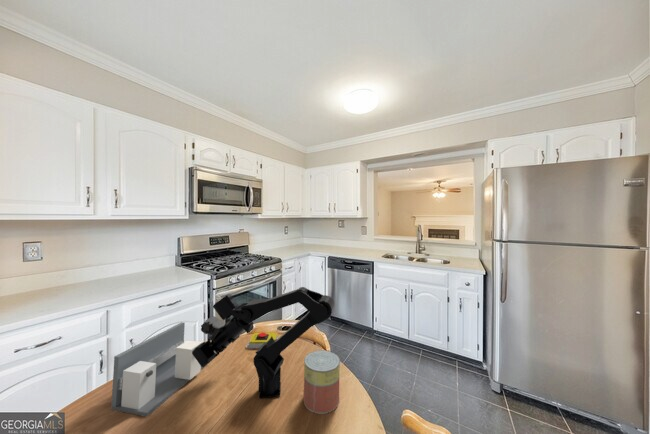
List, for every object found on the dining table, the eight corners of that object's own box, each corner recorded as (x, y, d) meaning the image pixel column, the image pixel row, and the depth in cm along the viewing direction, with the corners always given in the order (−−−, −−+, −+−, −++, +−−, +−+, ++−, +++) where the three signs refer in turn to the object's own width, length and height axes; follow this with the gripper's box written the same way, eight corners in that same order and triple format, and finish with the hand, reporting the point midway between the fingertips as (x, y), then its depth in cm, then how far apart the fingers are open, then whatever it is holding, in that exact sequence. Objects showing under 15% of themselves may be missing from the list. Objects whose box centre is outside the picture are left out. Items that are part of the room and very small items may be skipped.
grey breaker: (156, 397, 69) (158, 363, 70) (140, 410, 65) (142, 373, 65) (138, 393, 71) (140, 360, 71) (121, 406, 66) (123, 370, 66)
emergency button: (250, 330, 109) (282, 329, 110) (250, 339, 109) (282, 339, 110) (245, 339, 100) (279, 339, 101) (245, 349, 100) (279, 349, 101)
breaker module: (202, 371, 82) (203, 342, 82) (192, 380, 77) (193, 349, 77) (186, 368, 83) (187, 340, 84) (174, 377, 78) (176, 347, 79)
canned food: (335, 385, 78) (335, 349, 78) (343, 411, 67) (344, 369, 67) (302, 388, 76) (302, 351, 76) (305, 416, 65) (305, 372, 65)
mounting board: (207, 364, 88) (208, 325, 88) (147, 416, 63) (149, 361, 64) (179, 361, 90) (181, 322, 90) (111, 409, 66) (114, 356, 66)
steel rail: (183, 348, 89) (184, 340, 89) (121, 390, 66) (121, 379, 66) (181, 348, 89) (181, 340, 89) (118, 389, 66) (119, 379, 66)
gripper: (233, 302, 88) (207, 328, 90) (199, 321, 70) (166, 354, 71) (251, 325, 87) (224, 351, 88) (220, 351, 68) (186, 383, 70)
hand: (202, 358), depth 79 cm, fingers closed
